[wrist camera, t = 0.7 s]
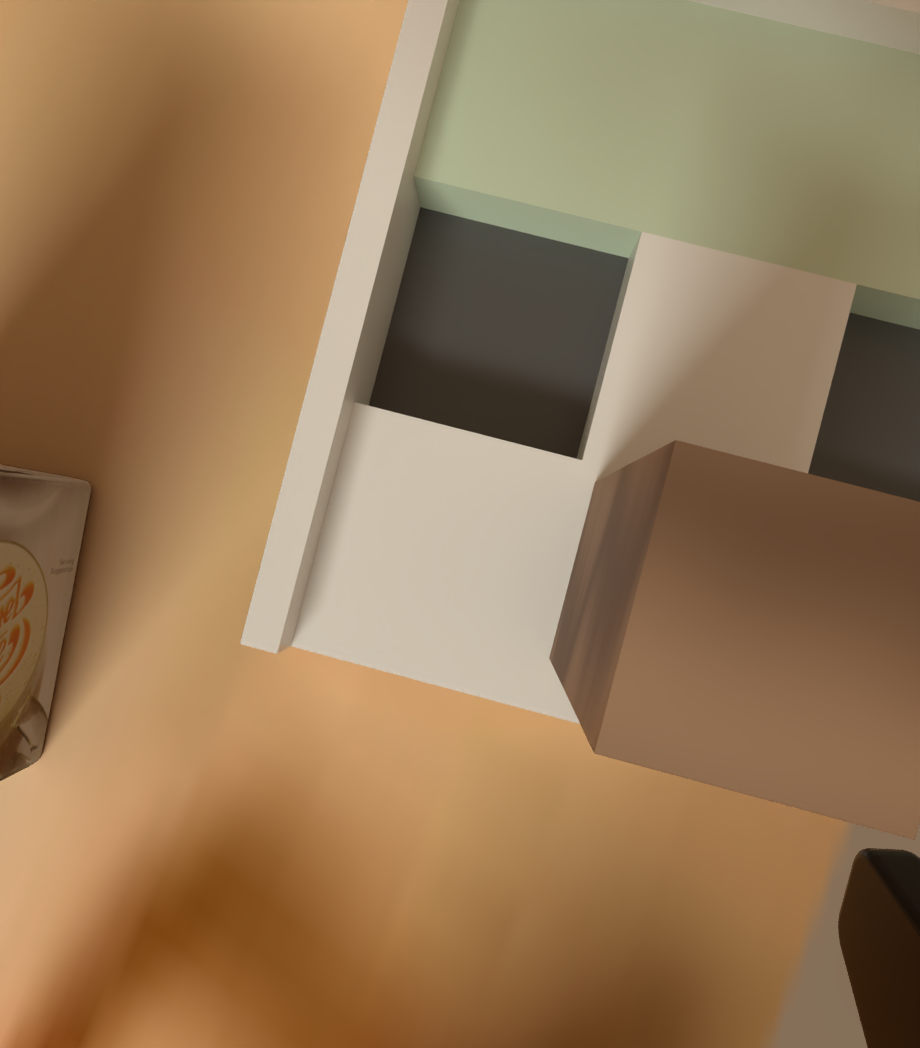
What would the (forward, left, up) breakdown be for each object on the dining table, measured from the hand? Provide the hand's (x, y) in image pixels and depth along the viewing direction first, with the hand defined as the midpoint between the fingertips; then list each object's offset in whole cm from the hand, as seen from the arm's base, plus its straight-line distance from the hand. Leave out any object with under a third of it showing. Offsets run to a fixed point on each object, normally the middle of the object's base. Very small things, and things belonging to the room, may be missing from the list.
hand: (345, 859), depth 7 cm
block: (+5, -4, -15) cm, 17 cm away
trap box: (+11, -2, -18) cm, 21 cm away
